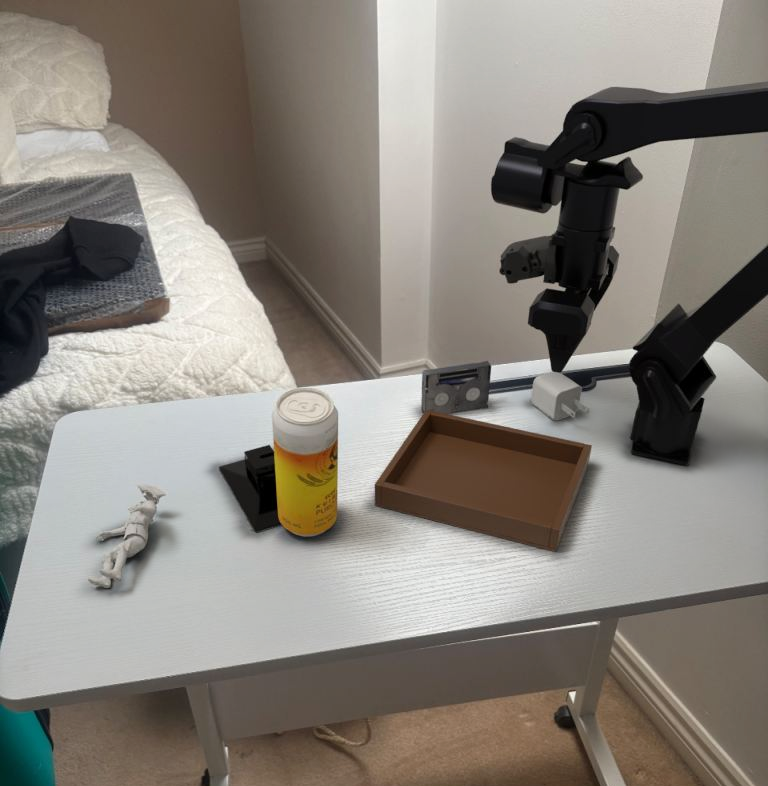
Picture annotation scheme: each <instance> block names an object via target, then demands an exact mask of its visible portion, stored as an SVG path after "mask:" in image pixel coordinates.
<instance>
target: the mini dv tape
mask: <svg viewBox="0 0 768 786" xmlns="http://www.w3.org/2000/svg"><path fill="white" fill-rule="evenodd" d="M491 375H492V365H491V363H490V362H489V360H484V361H477V362H470V363H464V364H457V365H450V366H445V367H437V368H431V369H423V370H422V375H421V401H420V403H421V404H420V406H421V408H420V411H421V412H422V415H423V414H424V412H425V411H426V410H430V411H435V412H440V413H444V414H449V415H453V414H457V413H464V412H469V411H475V410H476V411H477V410H483V409H487V408H488V407H489V397H490V384H491Z"/></svg>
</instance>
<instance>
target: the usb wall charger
mask: <svg viewBox="0 0 768 786" xmlns="http://www.w3.org/2000/svg"><path fill="white" fill-rule="evenodd" d="M582 392H583V387H582V386H581V385H579V384H578V383H576V382H575V381H574V380H572V379H571V378H569V377H567V376H566V375H564V374H563V373H562V372H561V373H557V372H553V371H552V370H551V371H549V372H546V373H543V374H541V375H538V376H536V377H535V378H534V379H533V382H532V389H531V396H530V397H531V398H530V403H531V404H532V406H534V407H535V408H537V409H538V410H540V412H542V413H544V414H545V415H547V416H548V417H549V418H550V419H552V420H553V421H554V422H555V421H559V420H563V419H566V418H568V417H572V418H573V419H575V418H576V415H577V412H578V411H579V409H580V410H581V411H583V412H584V413H586V414H589V410H590V407H588V406H586V405H585V404H584V403H583V402H581V398H582Z"/></svg>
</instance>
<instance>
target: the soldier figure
mask: <svg viewBox="0 0 768 786" xmlns="http://www.w3.org/2000/svg"><path fill="white" fill-rule="evenodd" d="M137 488H138V489H139V490H140V492H141V496H142V497H143V498H145V500H141V501H139V502H138V503H136V505H133V506H129V507H128V508H127V509H126V510H127V511H129V513H130V515H129V518H128V521H125V523H124V526H120V527H117V528H113V529H109V530H106V531H101V532H100V533H97V535H96V536H95V537H94V538H95V540H97V539H98V538H100V537H102V539H101V542H103V541H104V540H106V538H108V536H110V537H118V536H123V535H124V536H123V541H122V542H120V543H119V544H117V545H115V546H114V547H113V548H111V549H110V550H108V551H106V552H105V553H104V555H103V559H102V561H101V565H102V569H100V570H99V573H100V574H101V577H99V578H98V577H97V578H94V577H88V579H87V581H88V582H89V583H90V584H92V585H93V586H97V587H102V588H105V589H110V588H111V585H112V580H113V581H117V582H121V581H122V579H123V571H124V568H125V565H126V561H127V559H128V558H132V557H133V556H134V557H135V555H137V554H138V553H139V552H140V551H142V550H143V549H145V547H146V545H147V544H148V539H149V538H148V537H149V529H148V528H149V527H150V526H151V524H152V523H153V522H154V518H155V516H156V513H157V512H158V511H157V509H158V506H157V504H159V502H160V498H162V497H164V496H166V495H167V494H166V493H165V492H164V491H163V490H162V489H160V488H158V487H156V486H152V485H148V484H138V485H137ZM114 562H115V563H114Z"/></svg>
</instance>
